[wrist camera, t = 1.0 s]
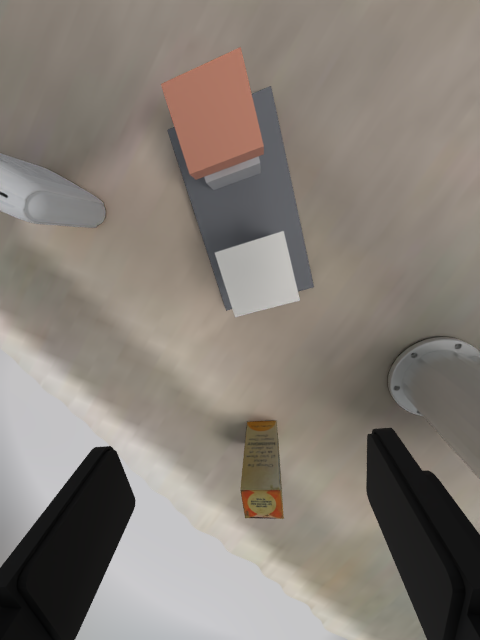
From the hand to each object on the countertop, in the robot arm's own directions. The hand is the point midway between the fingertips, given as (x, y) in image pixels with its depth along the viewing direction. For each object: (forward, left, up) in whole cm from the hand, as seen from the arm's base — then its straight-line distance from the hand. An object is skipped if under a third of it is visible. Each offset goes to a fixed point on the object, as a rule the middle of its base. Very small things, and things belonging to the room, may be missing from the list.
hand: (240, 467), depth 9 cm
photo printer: (+21, -20, -28) cm, 40 cm away
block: (-1, -11, -27) cm, 29 cm away
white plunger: (-1, -4, -22) cm, 22 cm away
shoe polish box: (+6, +23, -28) cm, 36 cm away
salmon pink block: (-1, -17, -22) cm, 28 cm away
